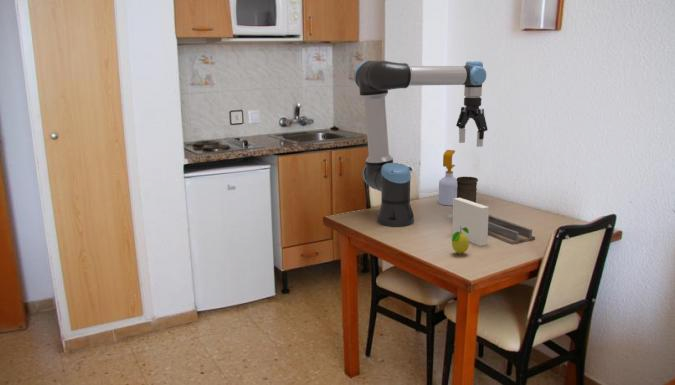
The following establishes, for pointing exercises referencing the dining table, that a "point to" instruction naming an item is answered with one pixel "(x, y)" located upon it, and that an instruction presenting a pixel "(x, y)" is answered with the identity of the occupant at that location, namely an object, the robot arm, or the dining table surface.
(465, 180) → the container
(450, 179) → the soap bottle
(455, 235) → the lemon
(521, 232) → the track plinth
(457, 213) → the door panel
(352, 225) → the dining table surface
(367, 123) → the robot arm
